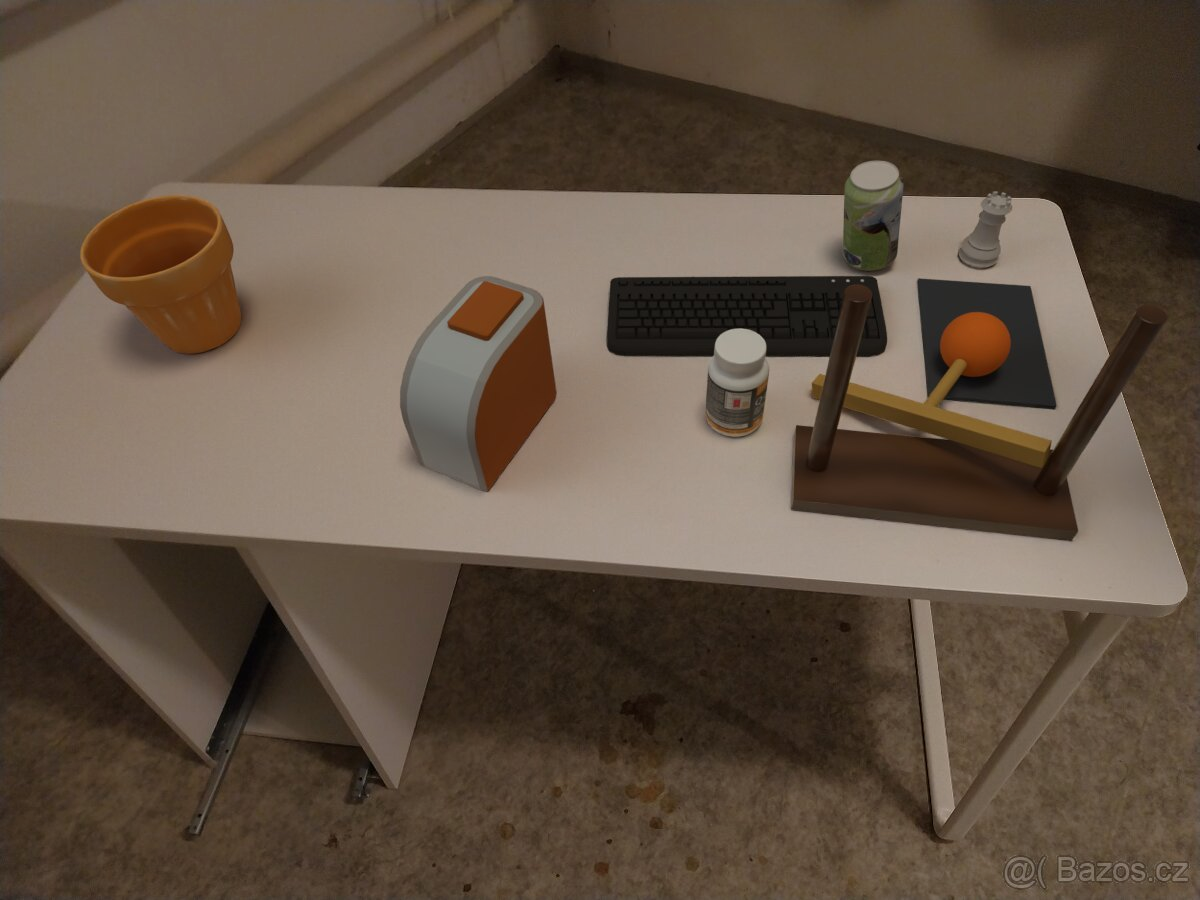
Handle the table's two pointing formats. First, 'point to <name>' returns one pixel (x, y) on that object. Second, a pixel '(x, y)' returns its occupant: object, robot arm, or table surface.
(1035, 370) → the slate mat
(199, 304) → the flower pot
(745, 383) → the pill bottle
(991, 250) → the rook chess piece
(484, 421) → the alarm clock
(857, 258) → the beverage can
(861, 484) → the hanger rack
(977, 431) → the ball on t-bar
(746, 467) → the table surface
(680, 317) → the keyboard
